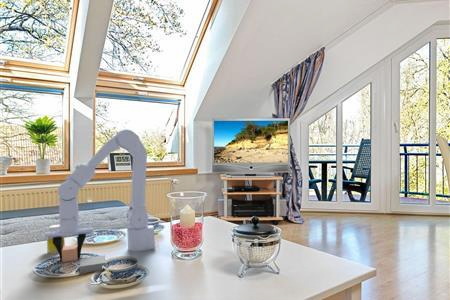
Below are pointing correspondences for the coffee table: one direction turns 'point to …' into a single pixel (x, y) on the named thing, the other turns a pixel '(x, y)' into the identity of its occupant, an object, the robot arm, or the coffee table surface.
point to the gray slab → (92, 263)
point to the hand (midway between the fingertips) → (70, 258)
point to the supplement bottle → (50, 245)
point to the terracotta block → (70, 253)
